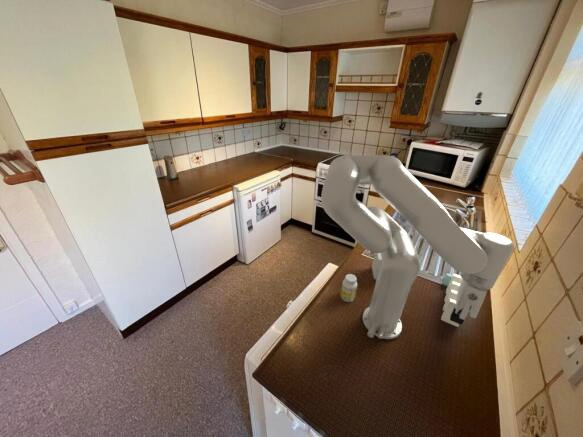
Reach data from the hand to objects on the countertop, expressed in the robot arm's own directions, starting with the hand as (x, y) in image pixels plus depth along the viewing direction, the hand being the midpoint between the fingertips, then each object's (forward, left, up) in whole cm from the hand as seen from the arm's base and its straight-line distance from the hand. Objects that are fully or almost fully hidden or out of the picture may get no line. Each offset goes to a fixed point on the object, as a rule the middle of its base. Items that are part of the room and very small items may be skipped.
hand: (455, 320), depth 74 cm
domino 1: (+26, -5, -5) cm, 27 cm away
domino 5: (+6, 0, -7) cm, 9 cm away
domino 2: (+21, 0, -7) cm, 22 cm away
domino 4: (+11, 0, -7) cm, 13 cm away
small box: (+16, +27, -7) cm, 32 cm away
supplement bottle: (-4, +33, -7) cm, 34 cm away
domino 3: (+16, 0, -7) cm, 17 cm away
